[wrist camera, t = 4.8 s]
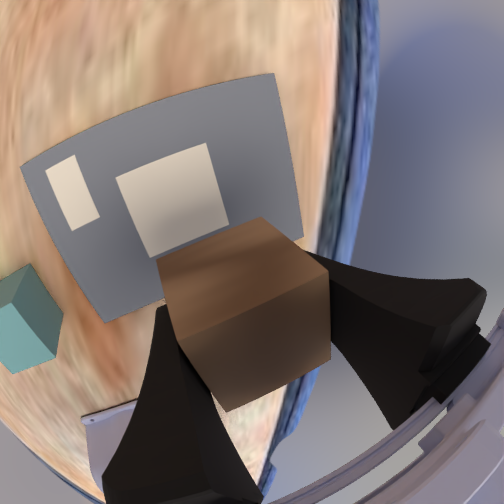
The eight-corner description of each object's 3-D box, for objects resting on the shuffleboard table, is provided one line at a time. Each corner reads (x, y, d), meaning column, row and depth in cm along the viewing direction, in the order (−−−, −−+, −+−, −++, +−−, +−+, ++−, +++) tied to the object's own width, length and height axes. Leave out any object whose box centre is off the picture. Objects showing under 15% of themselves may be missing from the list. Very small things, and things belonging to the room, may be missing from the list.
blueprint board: (104, 318, 18) (104, 323, 17) (23, 165, 11) (19, 167, 11) (299, 233, 22) (304, 236, 21) (269, 73, 15) (274, 73, 15)
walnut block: (194, 335, 13) (225, 412, 9) (155, 259, 10) (177, 341, 7) (278, 297, 14) (330, 359, 10) (261, 216, 11) (328, 271, 8)
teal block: (23, 331, 15) (12, 374, 12) (-9, 286, 13) (-30, 325, 9) (63, 313, 16) (55, 357, 13) (30, 262, 14) (11, 302, 10)
